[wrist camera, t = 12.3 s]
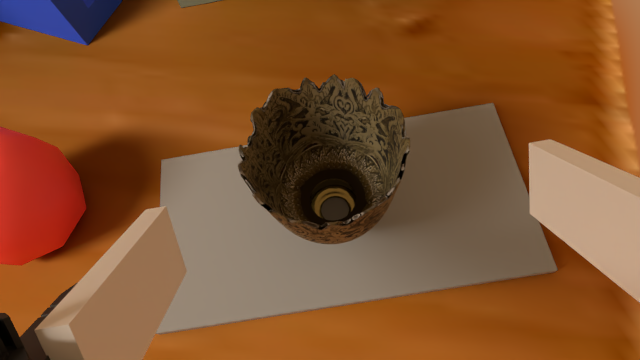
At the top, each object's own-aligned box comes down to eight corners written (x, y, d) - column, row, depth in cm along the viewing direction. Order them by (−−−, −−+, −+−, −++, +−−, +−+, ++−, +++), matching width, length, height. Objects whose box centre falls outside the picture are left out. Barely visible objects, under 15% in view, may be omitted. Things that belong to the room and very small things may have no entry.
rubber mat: (159, 334, 24) (155, 333, 23) (164, 163, 29) (161, 159, 28) (554, 272, 23) (557, 270, 23) (491, 107, 28) (493, 102, 27)
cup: (299, 143, 28) (275, 58, 20) (411, 172, 26) (428, 91, 19) (254, 249, 25) (208, 194, 18) (377, 289, 23) (381, 246, 16)
